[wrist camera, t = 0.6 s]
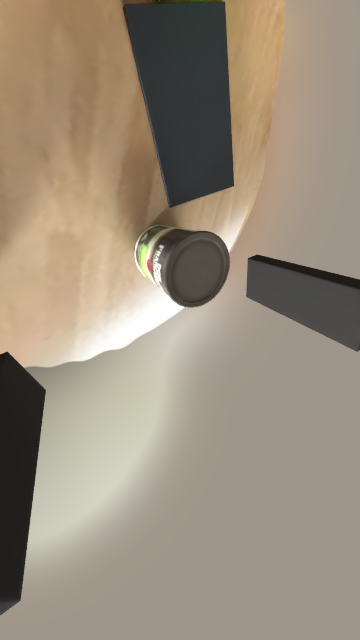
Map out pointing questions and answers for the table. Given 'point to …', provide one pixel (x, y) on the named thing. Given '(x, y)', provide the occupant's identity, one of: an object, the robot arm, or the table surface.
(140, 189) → the table surface
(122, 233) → the table surface
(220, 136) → the placemat
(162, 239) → the coffee can
